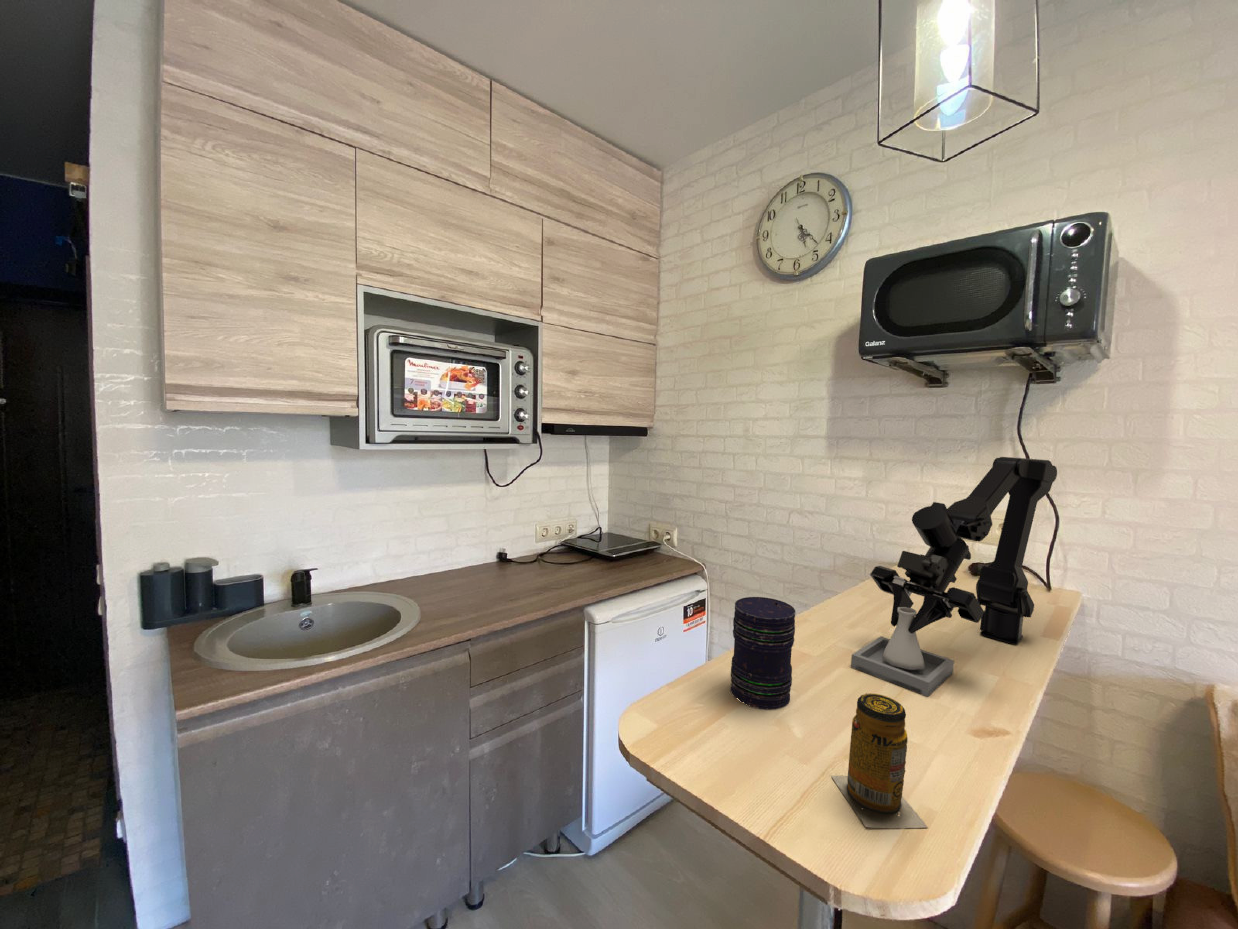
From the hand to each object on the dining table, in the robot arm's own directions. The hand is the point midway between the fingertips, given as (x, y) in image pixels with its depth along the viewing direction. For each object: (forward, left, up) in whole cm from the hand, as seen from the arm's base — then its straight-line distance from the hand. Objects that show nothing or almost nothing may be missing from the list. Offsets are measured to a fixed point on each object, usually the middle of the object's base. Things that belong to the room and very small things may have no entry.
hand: (901, 628), depth 94 cm
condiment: (-11, +37, -9) cm, 39 cm away
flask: (0, -1, -7) cm, 7 cm away
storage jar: (+12, +27, -8) cm, 31 cm away
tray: (0, -1, -8) cm, 8 cm away
